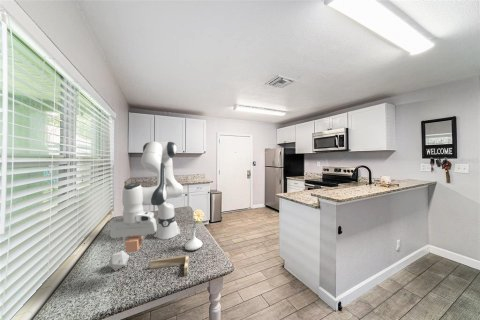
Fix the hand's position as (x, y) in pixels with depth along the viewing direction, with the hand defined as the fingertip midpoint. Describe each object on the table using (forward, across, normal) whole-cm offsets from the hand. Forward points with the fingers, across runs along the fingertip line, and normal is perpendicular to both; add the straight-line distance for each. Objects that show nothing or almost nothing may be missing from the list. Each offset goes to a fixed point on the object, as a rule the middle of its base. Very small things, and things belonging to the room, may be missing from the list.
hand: (134, 243), depth 89 cm
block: (+2, 0, 0) cm, 2 cm away
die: (+17, -12, +11) cm, 24 cm away
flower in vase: (+17, +28, +22) cm, 40 cm away
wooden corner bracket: (+17, +15, +1) cm, 23 cm away
